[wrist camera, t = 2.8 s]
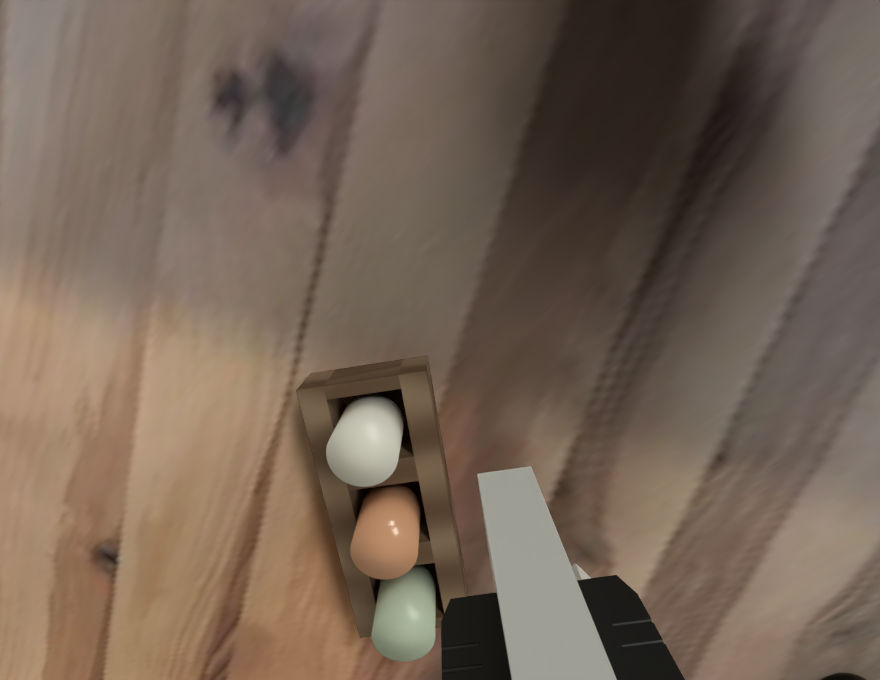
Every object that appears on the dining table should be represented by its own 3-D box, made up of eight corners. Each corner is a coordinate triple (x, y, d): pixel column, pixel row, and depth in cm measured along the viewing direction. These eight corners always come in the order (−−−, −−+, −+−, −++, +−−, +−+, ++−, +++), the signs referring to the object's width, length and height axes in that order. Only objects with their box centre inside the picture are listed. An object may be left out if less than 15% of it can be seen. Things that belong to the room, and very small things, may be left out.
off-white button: (335, 398, 34) (318, 427, 29) (398, 389, 34) (391, 416, 29) (348, 455, 36) (334, 491, 31) (409, 446, 35) (404, 481, 31)
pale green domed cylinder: (374, 566, 38) (365, 615, 33) (430, 558, 38) (429, 607, 33) (385, 611, 40) (378, 665, 35) (439, 604, 39) (440, 657, 35)
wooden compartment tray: (311, 373, 37) (296, 390, 33) (427, 355, 37) (425, 371, 33) (367, 600, 43) (360, 637, 39) (467, 587, 43) (470, 623, 39)
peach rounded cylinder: (356, 487, 36) (343, 527, 31) (415, 478, 36) (411, 517, 31) (368, 537, 38) (357, 583, 33) (425, 529, 37) (423, 574, 33)
